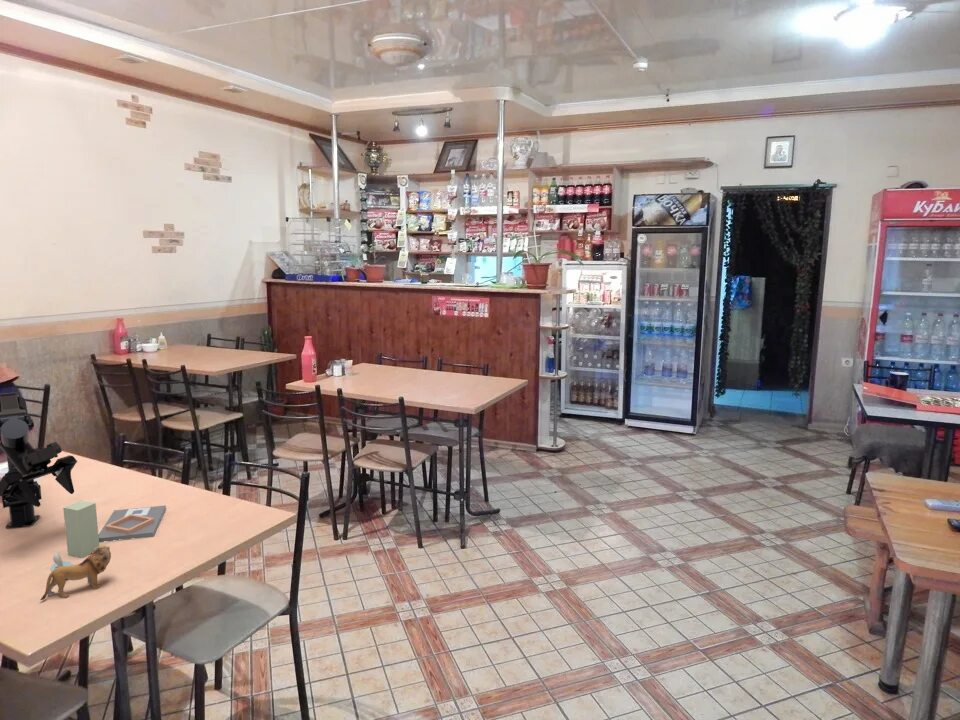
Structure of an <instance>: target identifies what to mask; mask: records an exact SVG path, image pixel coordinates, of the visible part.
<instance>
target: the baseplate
mask: <svg viewBox="0 0 960 720" xmlns="http://www.w3.org/2000/svg"><path fill="white" fill-rule="evenodd" d="M166 510H167V506H166V505H156V506H145V507H138V508H135V507H134V508H125V509H117V510H113V512H112V513H111V515H110V516H109V518H108V519H107V521H106V522H105V524H104V525H103V527H102V529H101V530H100V531H99V532H98V536H99V543H105V542H104V541H108V542H114V541H113V540H117V541H120V540H119V539H126V540H132V539H131V538H135V539H142V538H143V537H144V538H152V537H153V536H154V537H155V534H156V532H157V531H158V528H159V525H160V523H161V521H162V519H163V516H164V514H165V512H166ZM130 514H134V515H139V516H144V517H150V518H154V523H152V524H150V525H148V526H146V527H144V528H141V529H139V530H137V531H135V532H133V533H131V534H129V535H128V534H123V533H118V532H113V531H108V530H105V526H106V525H108V524H110V523H112V522H114V521H117V520H119V519H121V518H123V517H125V516H128V515H130ZM142 522H143V521H137V520H132V519H131V520H129V521H126V522H124V523H122V524H120V525H118V526H117V527H122V528H127V529H130V528H132V527H134V526H136V525H138V524H140V523H142ZM144 538H143V539H144Z"/></svg>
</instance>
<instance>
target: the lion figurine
mask: <svg viewBox="0 0 960 720" xmlns="http://www.w3.org/2000/svg"><path fill="white" fill-rule="evenodd" d="M111 558H112V552H111V551H110V546H109V545H108V546H107V545H102V544H101V545H99V546H98V547H97V548H95V549H93V553H92V554H90V555H88V556H86V558H84V560H82V562H80V563H77V564H75V565H74V564H73V565H72V566H61V567H58V568H55V569H54V570H53V571H52V572H51V571H50V573H49V575H48V576H47V579H46V587H45V592H44V593H43V595H42V597H41V598H39V600H40V601H44V600H45V599H46V597H47V596H49V597H50V596H54V595H55V591H52V589H53V588H55V586H57V593H58V594H59V595H60V596H61V597H62V598H63V599H64V598H68V597H70V593H69V592H68V593H66V592H65V590H64V588H65V585H66V583H67V580H70V581H81V580H84V579H85V578H87V584H88V586H92V588H93V589H96V590H97V589H100V588H101V585H100V584H98V583H97V582H98V575H100V574H101V573H103V572H105V570H106V569H107V567H108V565H109V563H110V561H111Z"/></svg>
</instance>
